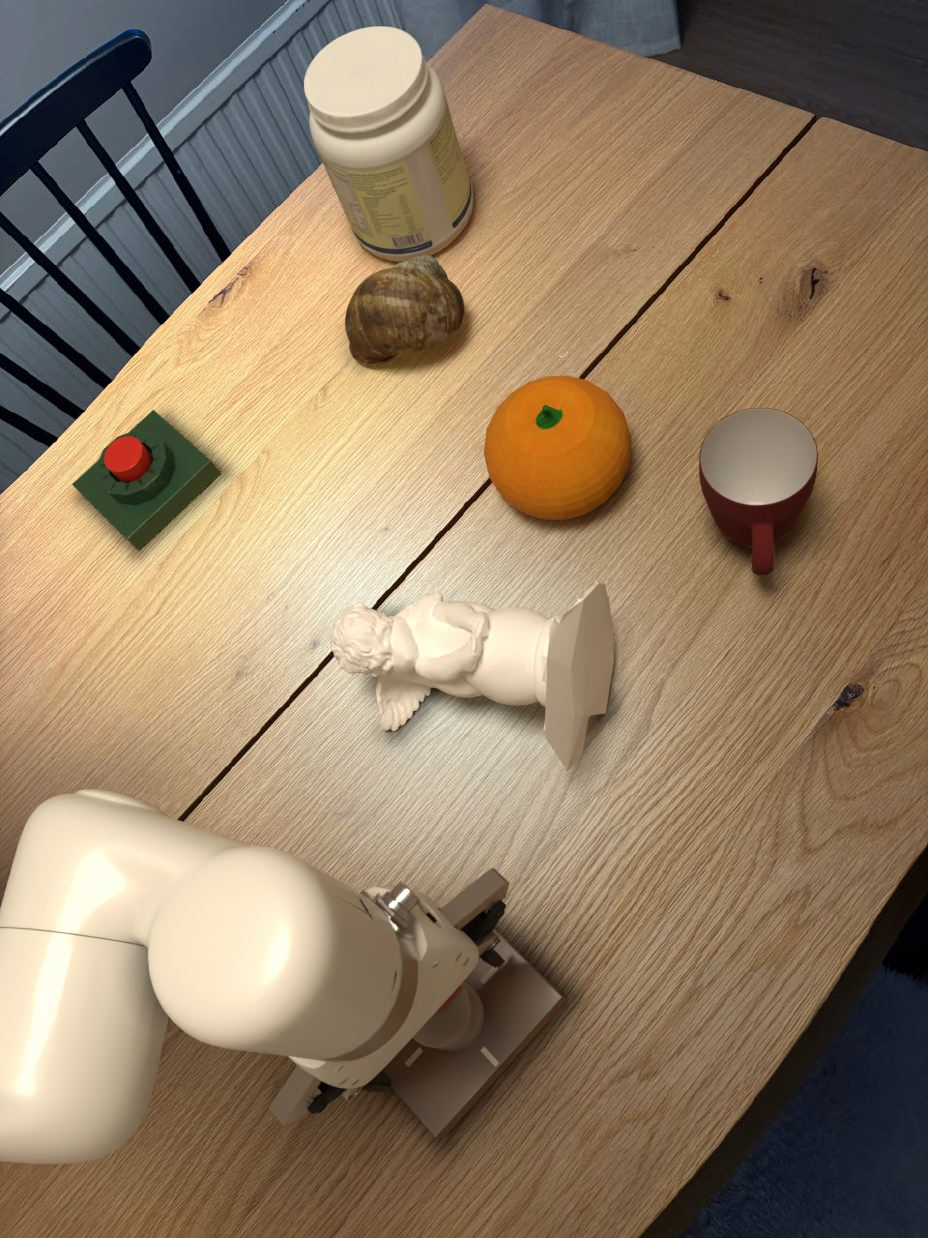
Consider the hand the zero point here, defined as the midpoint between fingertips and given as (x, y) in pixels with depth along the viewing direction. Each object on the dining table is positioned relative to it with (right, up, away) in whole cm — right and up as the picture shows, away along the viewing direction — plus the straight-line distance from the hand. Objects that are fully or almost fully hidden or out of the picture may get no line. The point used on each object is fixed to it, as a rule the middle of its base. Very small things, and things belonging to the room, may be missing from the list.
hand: (429, 1006), depth 66 cm
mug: (+25, +30, +18) cm, 43 cm away
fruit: (+10, +35, +25) cm, 44 cm away
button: (-27, +37, +30) cm, 55 cm away
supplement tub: (-3, +62, +40) cm, 74 cm away
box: (-26, +36, +33) cm, 55 cm away
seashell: (-3, +49, +34) cm, 60 cm away
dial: (+1, -3, +7) cm, 7 cm away
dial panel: (+2, -4, +9) cm, 10 cm away
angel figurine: (+3, +18, +18) cm, 26 cm away
